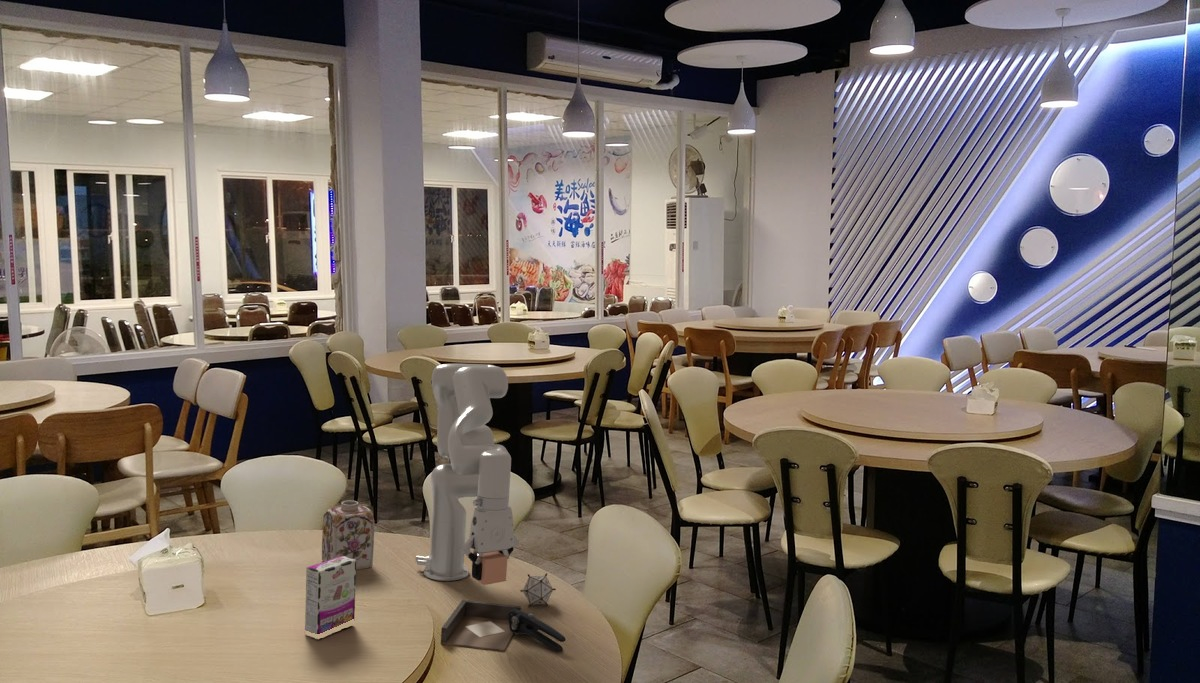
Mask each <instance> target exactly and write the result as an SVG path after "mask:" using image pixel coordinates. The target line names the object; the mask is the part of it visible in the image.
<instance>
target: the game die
mask: <svg viewBox="0 0 1200 683" xmlns="http://www.w3.org/2000/svg"><path fill="white" fill-rule="evenodd" d="M547 576H548V573H547V572H546V573H545V574H544V575H534V576H530V574H529V573H527V577H528V579H527V581H526V583H525V585H524V587H523V589H520V590H519V591H520V592H521V593H523V594H524V596H525V598H526V599H527V602H528V603H529V604H528V608H531V605H547V607H549V604H548V601H549V599H550V597H551V595H552V592H554V591H556V590H557V588H555V587H554V588H553V587H552V585H551V583H550V581H549V579H548V577H547Z"/></svg>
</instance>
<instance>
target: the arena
mask: <svg viewBox="0 0 1200 683" xmlns="http://www.w3.org/2000/svg"><path fill="white" fill-rule="evenodd" d="M514 608H515V609H518V610H521V611H522V606H521V605H513V604H505V603H504V604H503V603H496V602H495V603H494V602H486V601H479V600H478V601H477V600H469V599H468V600H467V599H462V600H461V601H460V602H459V603H458V605H457V606H456V607H455V609H454V610H453V611H452V613H451V614H450V616H449V617H448V619H447V620H446V621H445V622H444V624H443V625H442V626H441V629H440V631H441V632H440V633H441V635H440V644H441V645H447V646H454V647H462V648H463V647H464V648H471V649H478V650H486V651H487V650H488V651H495V652H496V651H497V652H505V651H506V649H507V647H508V645H509V643H510V641H511V640H512V638H513V635H514V634H515V633H513V632H511V631H510V628H509V620H508V618H509V617H508V616H509V612H510V611H511V610H512V609H514Z"/></svg>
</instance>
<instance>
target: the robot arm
mask: <svg viewBox="0 0 1200 683" xmlns="http://www.w3.org/2000/svg"><path fill="white" fill-rule="evenodd" d="M508 380H509V379H508V376H507V373H506V372H505V371H504V369H503V368H502V367H501V366H496V365H494V364H485V363H484V364H481V363H480V364H479V363H443V364H439V365H436V367H434V368H433V371H432V373H431V389H432V393H433V396H434V400H435V403H436V409H437V429H436V430H437V434H436V435H437V436H436V437H437V438H436V443H437V444H436V445H437V452H438V455H439V456H440V457H442V458H445V459H449V461H450V463H443V464H439V465H437V466H436V467H434V468H433V470H432V472H431V475H430V483H431V493H432V517H431V520H432V521H431V534H430V537H431V538H430V552H429V553H430V554H429V555H426V556H424V555H416V557H415V563H416V565H418V566H419V565H420V566H425V567H424V568H423V575H424V576H425V577H427V578H428V579H431V580H433V581H434V580H435V581H443V582H450V581H451V582H452V581H458V580H462V579H465V578H466V577H468V576H469V571H470V570H469V568H468V567H467V566H466V565H465V562H464V561H465V556H466V557H467V558H468V559H469V560H470V561H471V562H472V563H471V564H472V565H471V577H472V576H473V578H475V579H477V580H478V581H479V580H481V575H482V564H481V563H480V562H481V559H482V556H483V554H484V553H490V552H496V551H498V552H500V553H502V554H504V555H505V556H507V560H508V559H510V555H511V554H512V552H513V551H514V550H515V548H516V547H517V546H518V545H519V542H520V541H519V540H518V538H516V536H515V535H514V534H515V532H514V531H515V530H514V529H515V527H514V516H513V515H514V514H513V510H512V507H511V506H509V505H510V486H511V469H512V468H511V467H512V457H511V455H510V453H509V452H508V450H507V448H506V447H505V446H504V445H502V444H499V443H496V444H495V438H494V434H493V431H492V429H491V428H490V427H489V426H487V425H486V424H487V423H489V422H490V421H491V419H492V417H493V414H494V412H493V407H492V403H491V399H501V398H503V397H505V396H506V395H507V392H508V390H509V381H508ZM461 498H476V499H474V500H472V504H473V506H476V507H475V508H474V510H473V514H472V517H471V522H470V531H469V538H468V539H467V541H466V531H467V511H466V509H465V506H464V505H463V504H462V503H461V502H460V500H459V499H461ZM471 549H472V551H471ZM473 578H472V579H473ZM475 579H474V580H475ZM477 580H476V581H477ZM478 581H477V582H478Z"/></svg>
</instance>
